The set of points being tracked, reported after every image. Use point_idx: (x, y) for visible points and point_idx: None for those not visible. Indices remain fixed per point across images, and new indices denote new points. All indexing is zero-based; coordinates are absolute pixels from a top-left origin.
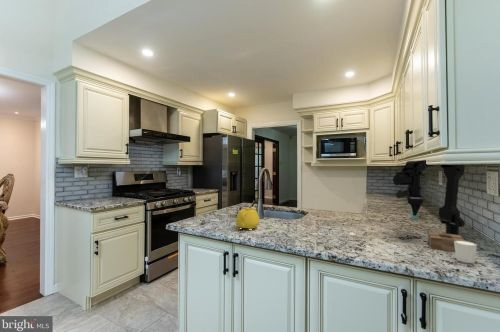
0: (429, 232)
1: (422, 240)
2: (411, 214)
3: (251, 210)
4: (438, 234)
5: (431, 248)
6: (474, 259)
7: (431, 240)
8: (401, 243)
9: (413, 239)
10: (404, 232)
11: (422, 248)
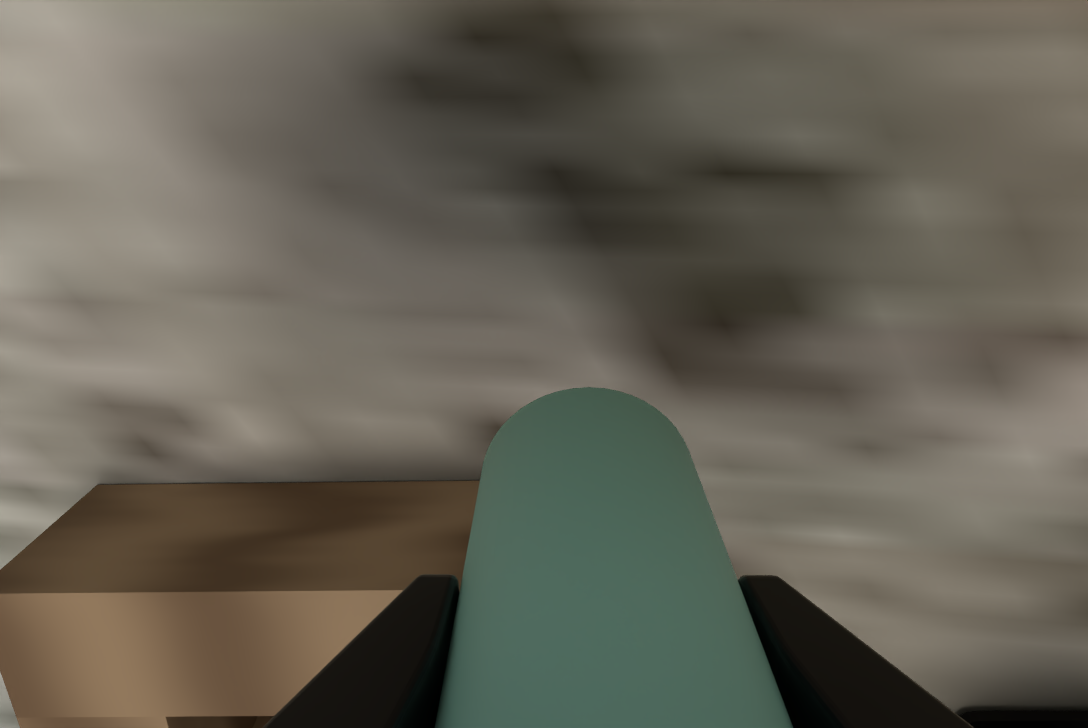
0: None
1: None
2: (525, 513)
3: None
4: None
5: (96, 490)
6: None
7: (11, 567)
8: (74, 67)
9: (524, 276)
10: (1061, 123)
11: (17, 380)
